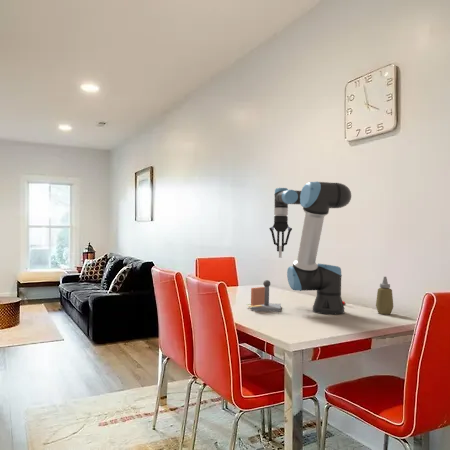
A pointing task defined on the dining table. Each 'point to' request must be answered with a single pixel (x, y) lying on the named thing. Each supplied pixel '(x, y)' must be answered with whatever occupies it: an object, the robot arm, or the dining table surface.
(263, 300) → the lever
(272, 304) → the grey flat block
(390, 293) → the squeeze bottle
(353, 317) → the dining table surface
